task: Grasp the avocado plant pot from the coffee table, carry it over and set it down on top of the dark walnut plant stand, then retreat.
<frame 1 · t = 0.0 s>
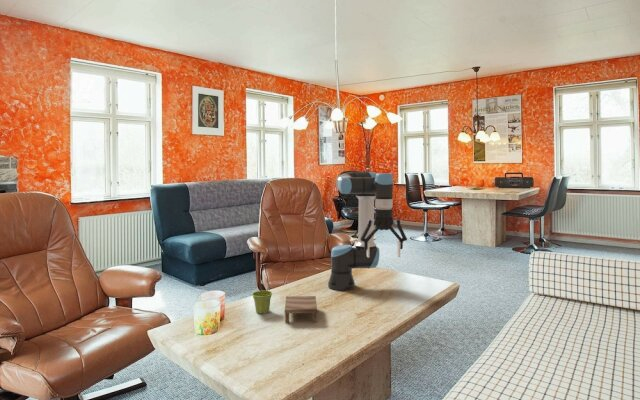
hand: (383, 256, 176), 28 cm above the table, tool pointing down, fingers open, 13 cm apart
plant pot: (262, 311, 188), on the table
walnut plant stand: (300, 315, 183), on the table
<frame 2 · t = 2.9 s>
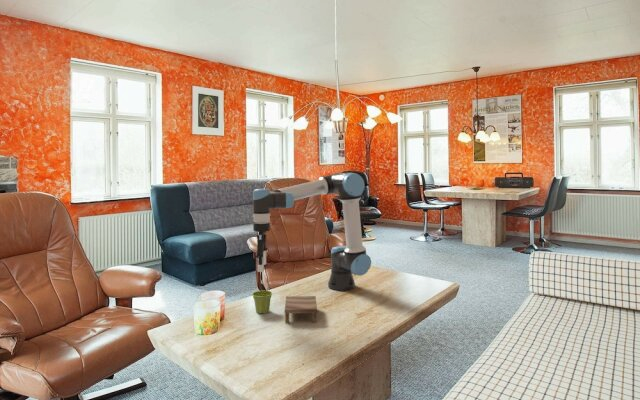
hand: (262, 267, 186), 21 cm above the table, tool pointing down, fingers open, 13 cm apart
nothing on the table moved.
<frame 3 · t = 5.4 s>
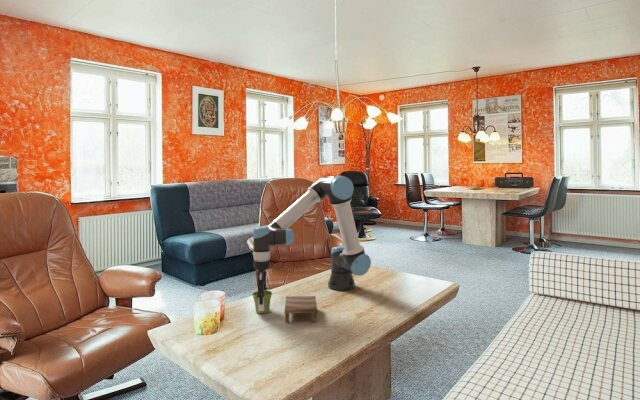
hand: (262, 307, 188), 2 cm above the table, tool pointing down, fingers closed on plant pot, 9 cm apart
plant pot: (262, 311, 188), on the table, touching gripper
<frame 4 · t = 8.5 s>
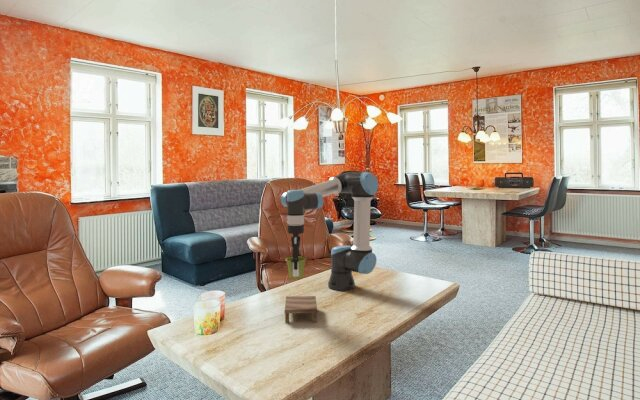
hand: (296, 273, 182), 19 cm above the table, tool pointing down, fingers closed on plant pot, 9 cm apart
plant pot: (296, 278, 182), point 17 cm above the table, touching gripper
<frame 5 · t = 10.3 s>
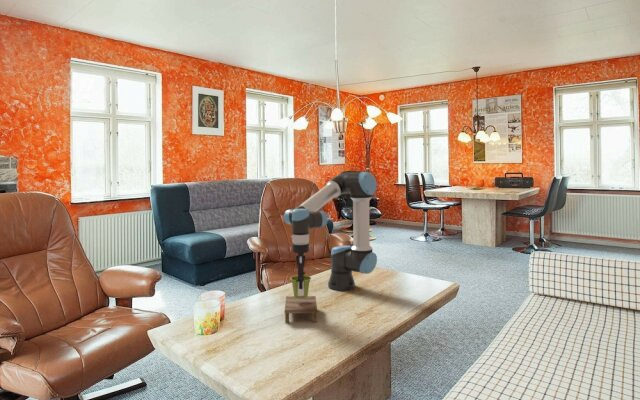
hand: (300, 292, 182), 11 cm above the table, tool pointing down, fingers closed on plant pot, 9 cm apart
plant pot: (300, 297, 182), point 8 cm above the table, touching gripper
when the fingers open (9 cm above the table, at t = 11.5 s): plant pot drops 1 cm, resting on walnut plant stand.
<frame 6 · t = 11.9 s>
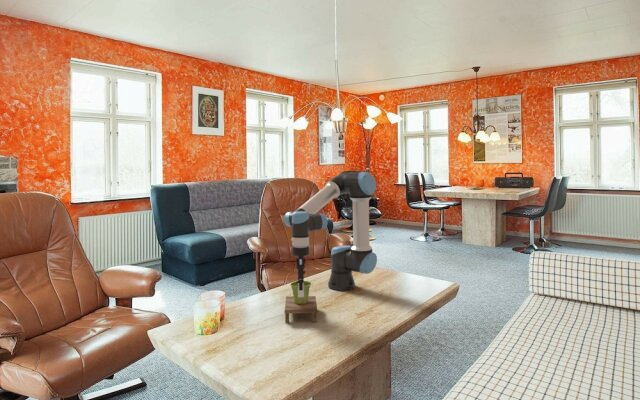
hand: (300, 292, 182), 11 cm above the table, tool pointing down, fingers open, 13 cm apart
plant pot: (300, 302, 182), point 6 cm above the table, touching walnut plant stand
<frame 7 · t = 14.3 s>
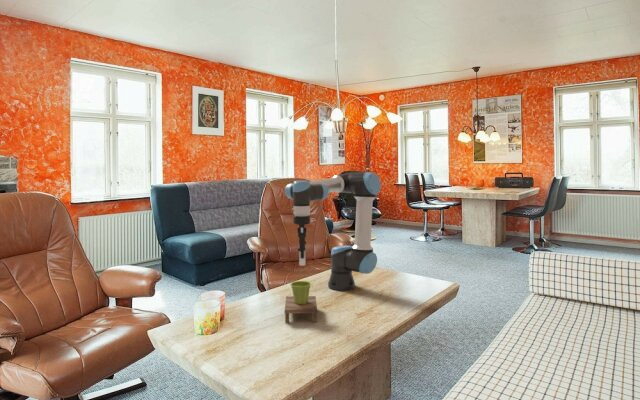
hand: (302, 261, 182), 25 cm above the table, tool pointing down, fingers open, 13 cm apart
nothing on the table moved.
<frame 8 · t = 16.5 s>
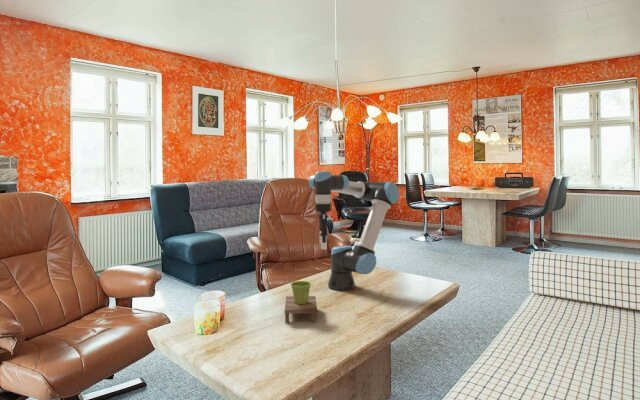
hand: (323, 246, 196), 29 cm above the table, tool pointing down, fingers open, 13 cm apart
nothing on the table moved.
at the end: plant pot inside the target area on the walnut plant stand (0.0 cm from its centre), point 5.8 cm above the walnut plant stand's base; plant pot tilted 0°; the gripper is holding nothing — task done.
